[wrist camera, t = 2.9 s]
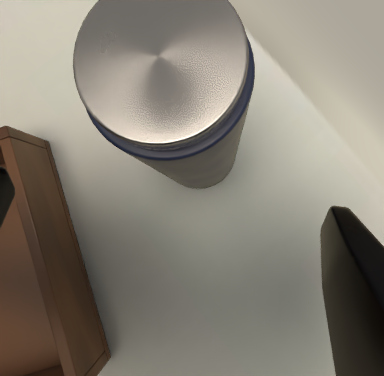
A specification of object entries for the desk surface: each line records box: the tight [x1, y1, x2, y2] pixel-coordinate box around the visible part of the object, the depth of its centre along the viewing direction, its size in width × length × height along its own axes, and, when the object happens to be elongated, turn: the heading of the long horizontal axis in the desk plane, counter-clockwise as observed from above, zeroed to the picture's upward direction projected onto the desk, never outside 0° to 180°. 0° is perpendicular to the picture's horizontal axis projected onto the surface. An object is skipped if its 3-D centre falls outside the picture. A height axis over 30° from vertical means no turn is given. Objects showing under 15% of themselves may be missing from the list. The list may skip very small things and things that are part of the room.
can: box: [73, 0, 255, 189], centre depth 13 cm, size 4×4×12 cm
